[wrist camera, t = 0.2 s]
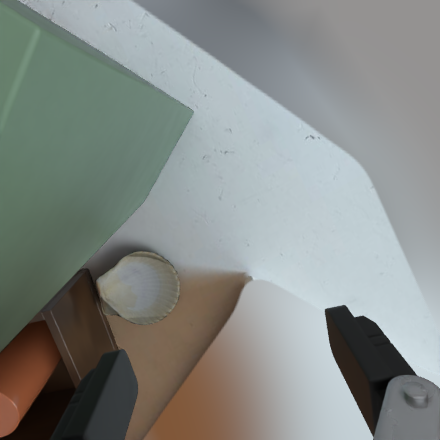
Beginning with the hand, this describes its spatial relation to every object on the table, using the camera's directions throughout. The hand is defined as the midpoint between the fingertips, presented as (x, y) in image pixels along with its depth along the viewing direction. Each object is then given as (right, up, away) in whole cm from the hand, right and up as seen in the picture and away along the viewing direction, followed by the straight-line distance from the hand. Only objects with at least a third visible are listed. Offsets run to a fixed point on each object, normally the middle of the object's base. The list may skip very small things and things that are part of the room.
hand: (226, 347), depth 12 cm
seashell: (-8, -2, +22) cm, 23 cm away
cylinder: (-19, -8, +22) cm, 30 cm away
